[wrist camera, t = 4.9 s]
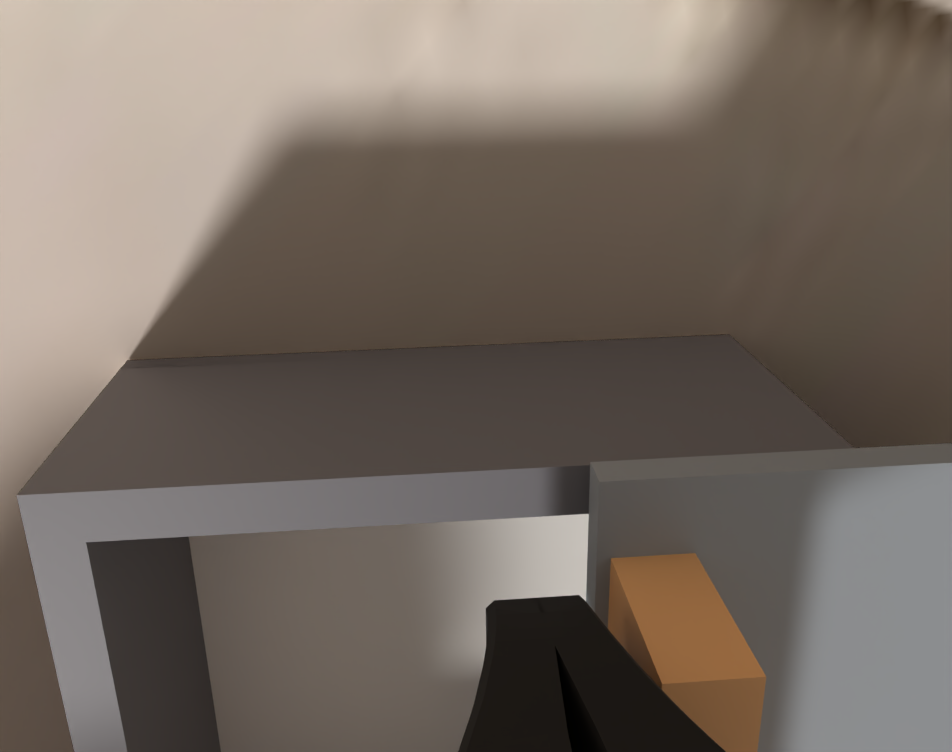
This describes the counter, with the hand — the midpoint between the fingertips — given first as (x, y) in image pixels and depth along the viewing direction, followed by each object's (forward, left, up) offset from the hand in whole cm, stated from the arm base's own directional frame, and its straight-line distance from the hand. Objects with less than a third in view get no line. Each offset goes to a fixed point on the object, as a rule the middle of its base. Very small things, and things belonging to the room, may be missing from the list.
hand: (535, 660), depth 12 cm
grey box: (-4, +1, -7) cm, 8 cm away
